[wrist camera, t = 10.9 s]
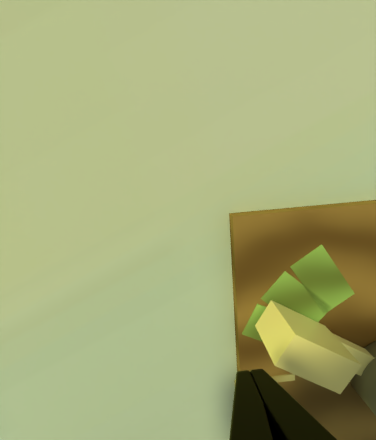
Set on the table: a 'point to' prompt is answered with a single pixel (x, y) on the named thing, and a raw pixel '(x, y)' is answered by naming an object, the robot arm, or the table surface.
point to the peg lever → (317, 353)
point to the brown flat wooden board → (308, 294)
